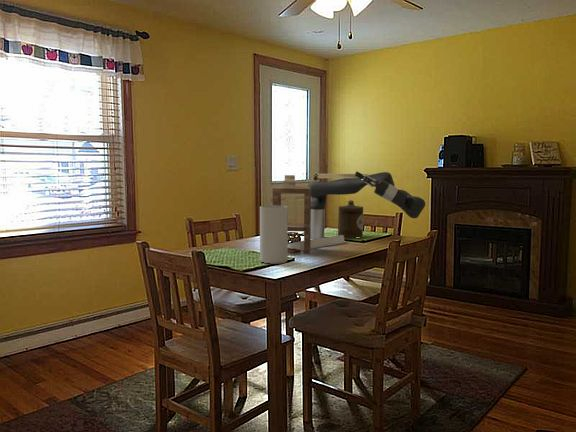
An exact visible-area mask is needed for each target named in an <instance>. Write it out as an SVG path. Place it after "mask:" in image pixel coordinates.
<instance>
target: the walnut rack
mask: <svg viewBox="0 0 576 432" xmlns="http://www.w3.org/2000/svg"><path fill="white" fill-rule="evenodd" d="M282 194H285V195H286V194H290V195H291V194H293V195H294V194H299V195H301V194H302V195H303V196H304V197H303V198H304V199H303V201H304V203H303V208H304V209H303V211H304V212H303V216H304V217H303V223H300V222H297V223H293V222H288V232H303V241H304V250H303V254H304V255H305V254H307V255H308V254H310V250H311V249H310V244H311V240H312V239H311V201H312V197H311V187H307V186H295V187H283V186H274V187H273V188H272V205H278V206H282Z"/></svg>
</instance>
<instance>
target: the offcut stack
mask: <svg viewBox="0 0 576 432" xmlns="http://www.w3.org/2000/svg"><path fill="white" fill-rule="evenodd" d="M295 176H296V175H295V174H294V175H293V174H292V175H291V174H285V175H284V180H283V181H282V187H296V177H295Z"/></svg>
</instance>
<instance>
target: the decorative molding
mask: <svg viewBox="0 0 576 432" xmlns="http://www.w3.org/2000/svg"><path fill="white" fill-rule="evenodd" d="M345 243H346V242H345V238H344V236H343V235H340V236H338V235H334V236H328V237H327V236H325V237H324V238H319V239H311V244H310V249H309V250H311V249H315V248H316V249H317V248H321V247H327V246H334V245H341V244H345ZM288 249H293V250H294V249H296V250H299V251H304V240H299V241H296V242H295V241H294V242H292V243H288Z"/></svg>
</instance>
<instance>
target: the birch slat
mask: <svg viewBox="0 0 576 432" xmlns="http://www.w3.org/2000/svg"><path fill="white" fill-rule="evenodd" d="M362 174H363V175H365V176H367V177H368V175H369V173H362ZM343 178H359V177H357V176H355V173H318V179H343Z"/></svg>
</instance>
